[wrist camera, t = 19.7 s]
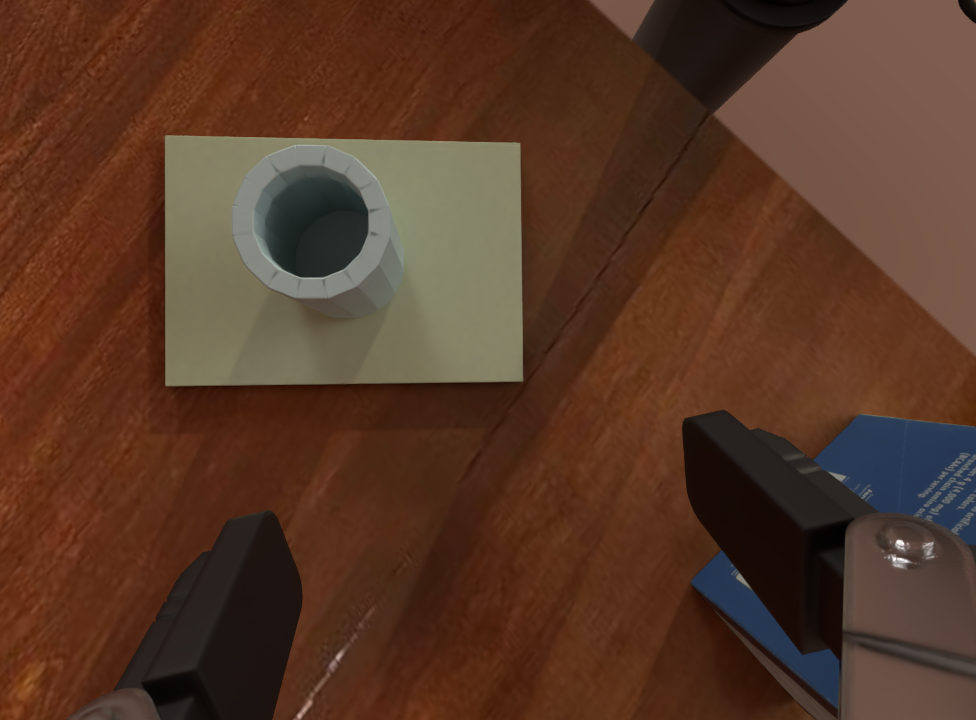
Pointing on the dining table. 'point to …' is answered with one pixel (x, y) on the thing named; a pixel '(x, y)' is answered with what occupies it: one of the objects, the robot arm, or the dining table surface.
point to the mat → (357, 341)
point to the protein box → (889, 489)
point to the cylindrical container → (319, 231)
